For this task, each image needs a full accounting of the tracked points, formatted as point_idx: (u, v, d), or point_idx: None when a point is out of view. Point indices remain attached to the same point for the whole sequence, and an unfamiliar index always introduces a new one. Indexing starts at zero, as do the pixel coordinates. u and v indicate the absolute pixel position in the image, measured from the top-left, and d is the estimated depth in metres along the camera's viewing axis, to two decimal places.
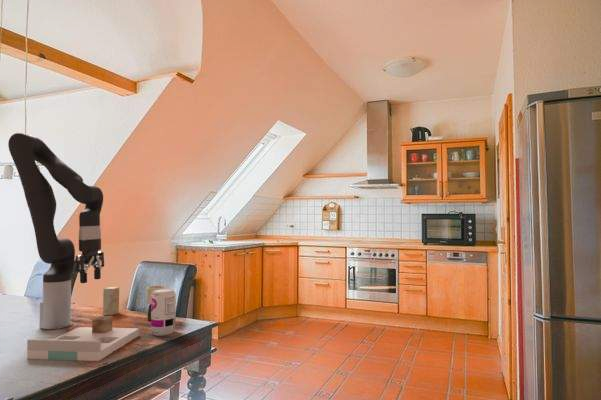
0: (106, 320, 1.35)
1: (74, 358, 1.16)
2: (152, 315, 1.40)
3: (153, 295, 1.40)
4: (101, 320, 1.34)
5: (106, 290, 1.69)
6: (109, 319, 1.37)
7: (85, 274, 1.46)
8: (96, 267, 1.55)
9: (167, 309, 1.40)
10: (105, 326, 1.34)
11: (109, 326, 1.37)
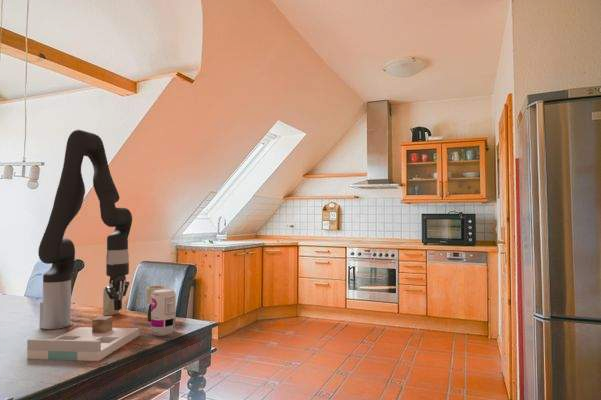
0: (106, 320, 1.35)
1: (74, 358, 1.16)
2: (152, 315, 1.40)
3: (153, 295, 1.40)
4: (101, 320, 1.34)
5: None
6: (109, 319, 1.37)
7: (119, 301, 1.45)
8: None
9: (167, 309, 1.40)
10: (105, 326, 1.34)
11: (109, 326, 1.37)
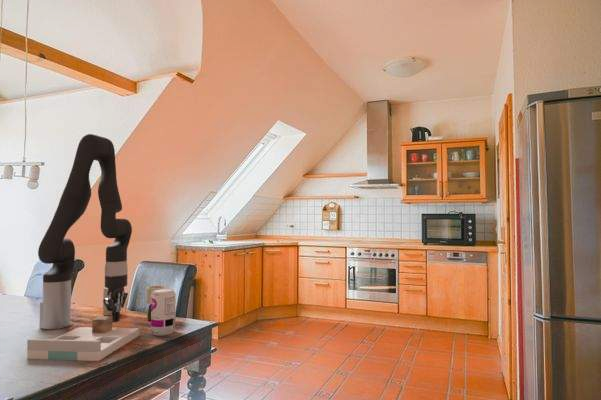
0: (106, 320, 1.35)
1: (74, 358, 1.16)
2: (152, 315, 1.40)
3: (153, 295, 1.40)
4: (101, 320, 1.34)
5: (106, 290, 1.69)
6: (109, 319, 1.37)
7: (117, 313, 1.44)
8: None
9: (167, 309, 1.40)
10: (105, 326, 1.34)
11: (109, 326, 1.37)
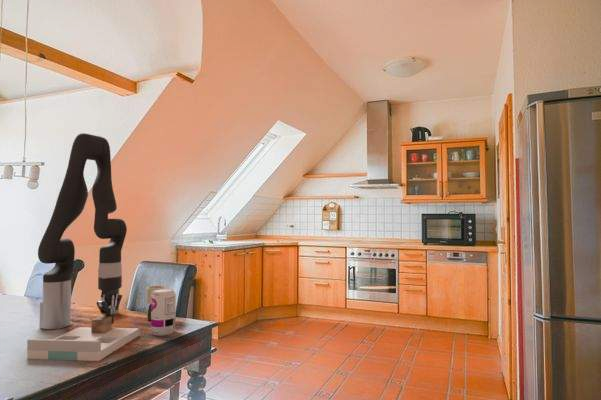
0: (105, 320, 1.35)
1: (74, 358, 1.16)
2: (152, 315, 1.40)
3: (153, 295, 1.40)
4: (100, 320, 1.34)
5: None
6: (108, 319, 1.36)
7: (111, 316, 1.40)
8: None
9: (167, 309, 1.40)
10: (105, 327, 1.34)
11: (108, 326, 1.36)
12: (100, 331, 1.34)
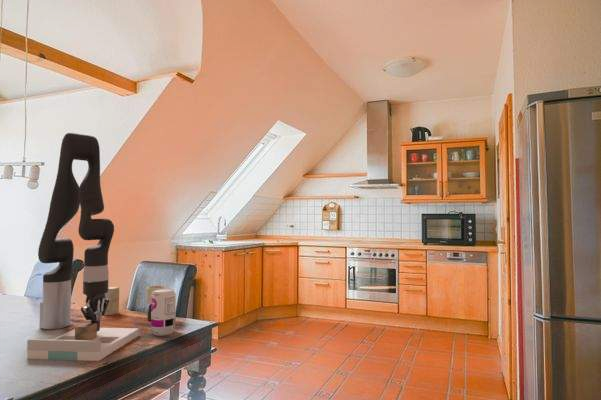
0: (90, 327, 1.26)
1: (74, 358, 1.16)
2: (152, 315, 1.40)
3: (153, 295, 1.40)
4: (84, 327, 1.25)
5: None
6: (93, 326, 1.28)
7: (96, 322, 1.31)
8: None
9: (167, 309, 1.40)
10: (89, 334, 1.26)
11: (93, 334, 1.28)
12: (84, 339, 1.25)
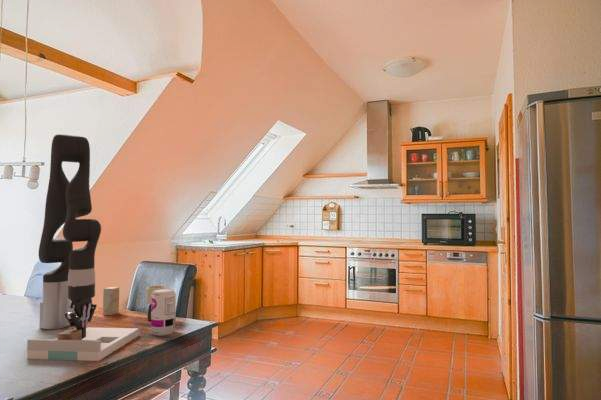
0: (74, 334, 1.19)
1: (74, 358, 1.16)
2: (152, 315, 1.40)
3: (153, 295, 1.40)
4: (68, 335, 1.18)
5: (106, 290, 1.69)
6: (78, 333, 1.21)
7: (82, 328, 1.24)
8: None
9: (167, 309, 1.40)
10: None
11: None
12: None
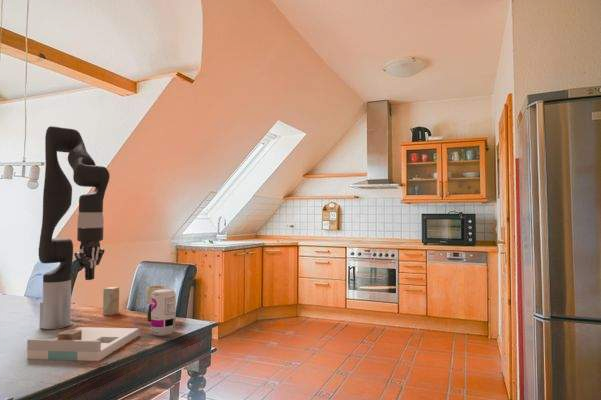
0: (73, 335, 1.19)
1: (74, 358, 1.16)
2: (152, 315, 1.40)
3: (153, 295, 1.40)
4: (68, 335, 1.18)
5: (106, 290, 1.69)
6: (77, 333, 1.20)
7: (91, 270, 1.29)
8: None
9: (167, 309, 1.40)
10: None
11: None
12: None
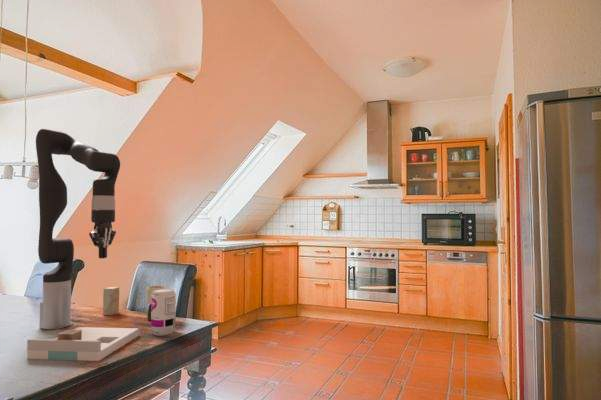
0: (73, 335, 1.19)
1: (74, 358, 1.16)
2: (152, 315, 1.40)
3: (153, 295, 1.40)
4: (68, 335, 1.18)
5: (106, 290, 1.69)
6: (77, 333, 1.20)
7: (104, 249, 1.40)
8: None
9: (167, 309, 1.40)
10: None
11: None
12: None
